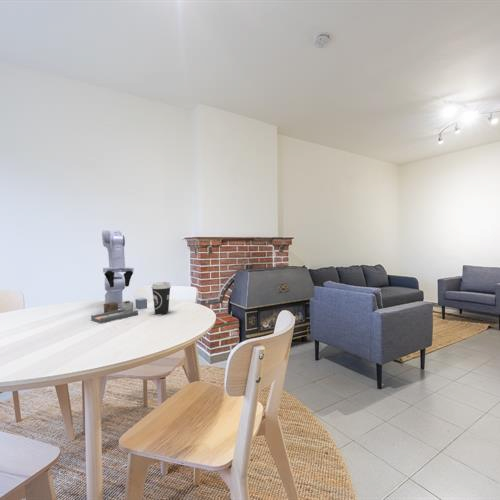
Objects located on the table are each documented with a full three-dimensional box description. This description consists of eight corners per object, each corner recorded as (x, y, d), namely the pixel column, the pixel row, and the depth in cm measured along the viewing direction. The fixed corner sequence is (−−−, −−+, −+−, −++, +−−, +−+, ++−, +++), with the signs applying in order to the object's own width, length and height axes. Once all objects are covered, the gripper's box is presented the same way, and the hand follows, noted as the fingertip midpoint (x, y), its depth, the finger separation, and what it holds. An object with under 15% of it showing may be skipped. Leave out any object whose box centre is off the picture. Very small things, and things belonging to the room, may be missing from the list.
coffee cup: (168, 315, 138) (167, 284, 138) (148, 315, 138) (148, 284, 138) (173, 310, 148) (173, 281, 147) (155, 310, 148) (155, 281, 147)
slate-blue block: (135, 308, 154) (135, 299, 154) (143, 306, 157) (143, 297, 157) (138, 309, 151) (138, 300, 150) (147, 308, 154) (147, 299, 153)
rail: (91, 320, 131) (91, 315, 131) (128, 312, 145) (128, 308, 145) (100, 323, 125) (100, 318, 125) (138, 314, 140) (137, 310, 140)
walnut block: (104, 313, 142) (103, 303, 142) (111, 311, 147) (111, 302, 146) (110, 314, 141) (110, 304, 140) (118, 312, 145) (117, 302, 145)
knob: (121, 311, 140) (121, 301, 139) (128, 310, 143) (128, 300, 143) (125, 313, 137) (125, 302, 137) (133, 311, 140) (133, 301, 140)
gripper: (107, 257, 132) (109, 286, 130) (136, 258, 144) (137, 285, 142) (100, 260, 137) (101, 288, 134) (128, 260, 148) (130, 286, 146)
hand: (119, 286), depth 138 cm, fingers open, 7 cm apart
